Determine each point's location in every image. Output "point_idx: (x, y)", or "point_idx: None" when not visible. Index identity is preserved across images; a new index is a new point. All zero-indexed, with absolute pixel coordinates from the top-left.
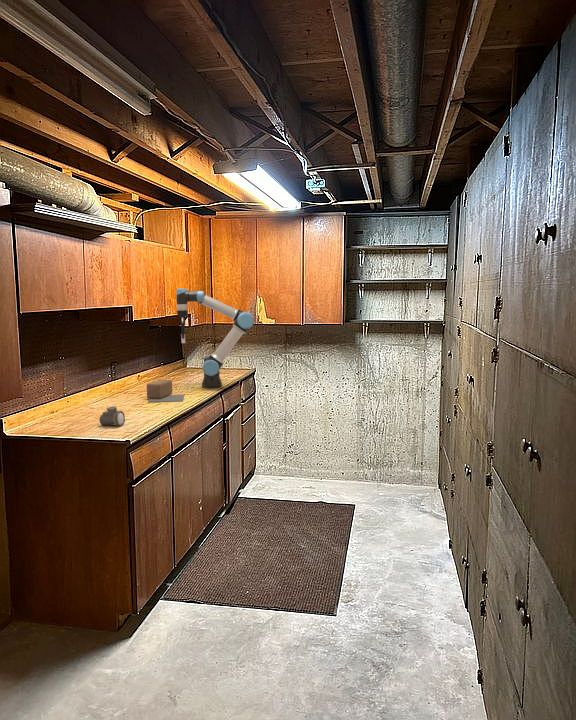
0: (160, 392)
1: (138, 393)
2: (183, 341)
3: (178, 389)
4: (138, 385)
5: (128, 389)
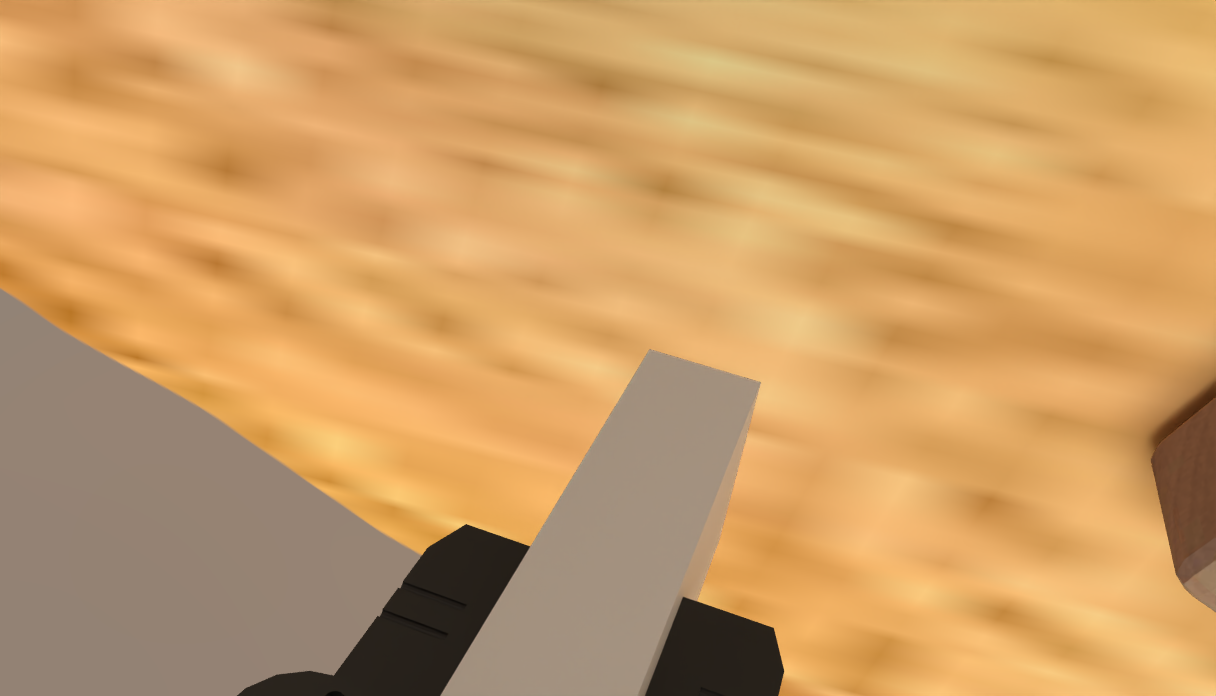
0: None
1: (909, 618)
2: (722, 512)
3: (813, 85)
4: (334, 467)
5: None
